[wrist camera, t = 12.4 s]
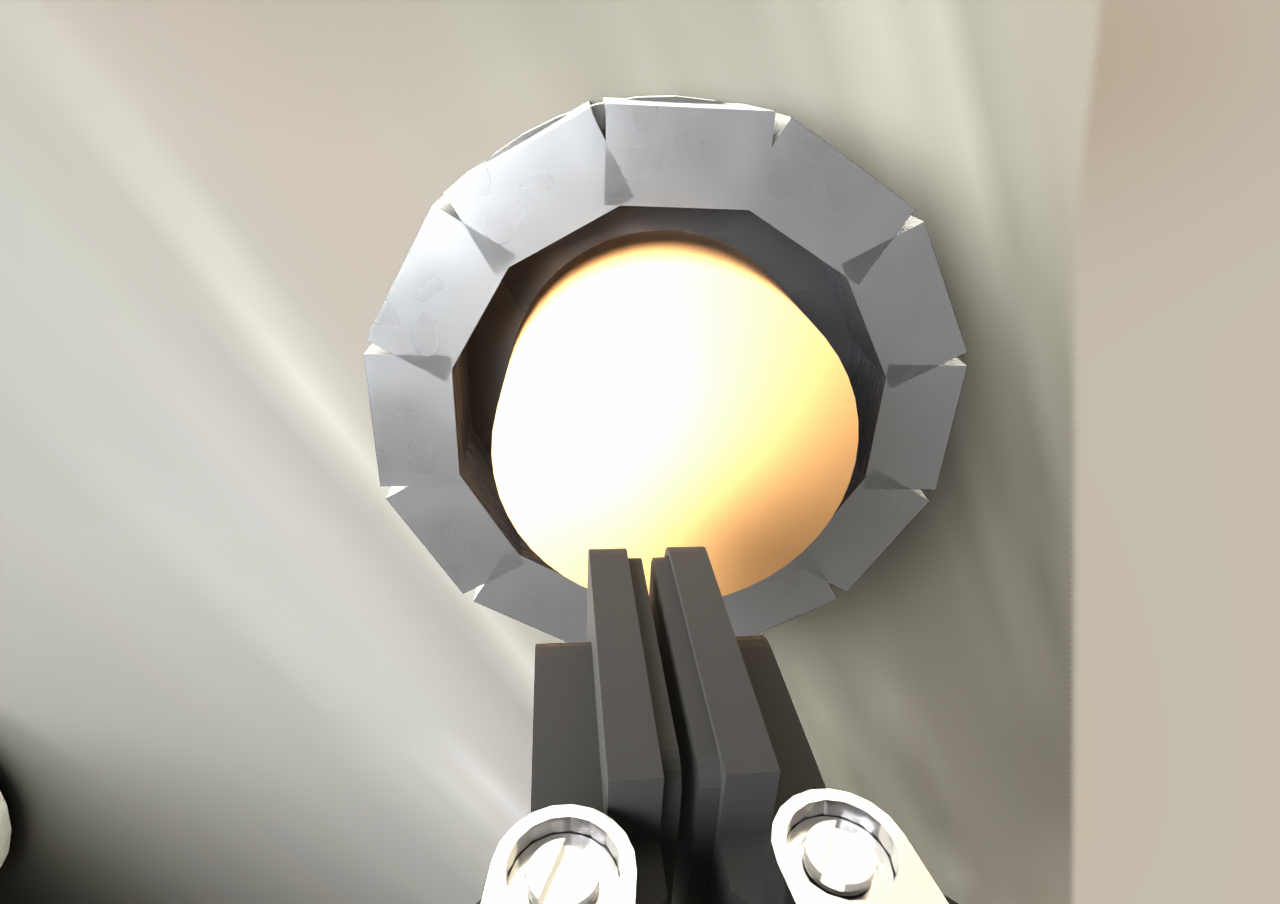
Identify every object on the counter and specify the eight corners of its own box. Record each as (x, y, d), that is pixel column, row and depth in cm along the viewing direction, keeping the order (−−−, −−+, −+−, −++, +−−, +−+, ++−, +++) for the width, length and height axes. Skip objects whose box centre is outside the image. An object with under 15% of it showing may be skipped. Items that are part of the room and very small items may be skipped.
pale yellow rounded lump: (781, 508, 20) (824, 605, 16) (513, 503, 19) (496, 603, 16) (827, 237, 17) (893, 284, 13) (507, 222, 16) (485, 266, 12)
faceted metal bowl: (860, 580, 22) (898, 651, 19) (422, 581, 21) (398, 656, 18) (962, 108, 16) (1036, 117, 14) (367, 81, 15) (321, 83, 13)
